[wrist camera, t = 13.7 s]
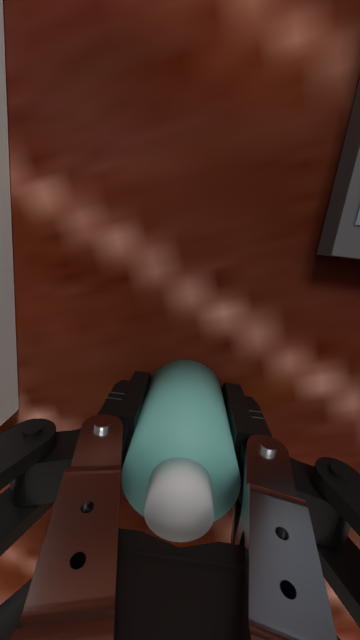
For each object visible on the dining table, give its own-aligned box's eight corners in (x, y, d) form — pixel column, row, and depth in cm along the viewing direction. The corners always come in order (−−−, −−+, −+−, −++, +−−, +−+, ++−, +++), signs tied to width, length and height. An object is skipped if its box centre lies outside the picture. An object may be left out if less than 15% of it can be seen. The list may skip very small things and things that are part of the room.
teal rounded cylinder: (151, 355, 12) (115, 449, 6) (227, 365, 12) (259, 468, 6) (144, 421, 13) (107, 556, 7) (215, 430, 13) (234, 573, 7)
